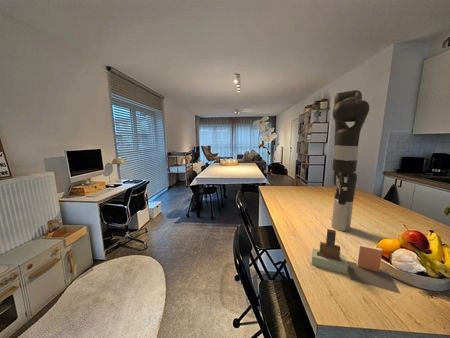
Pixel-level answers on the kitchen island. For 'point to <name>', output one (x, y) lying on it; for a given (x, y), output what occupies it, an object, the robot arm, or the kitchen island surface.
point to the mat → (372, 277)
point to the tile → (369, 257)
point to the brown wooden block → (330, 246)
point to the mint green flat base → (329, 262)
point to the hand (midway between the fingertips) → (340, 200)
